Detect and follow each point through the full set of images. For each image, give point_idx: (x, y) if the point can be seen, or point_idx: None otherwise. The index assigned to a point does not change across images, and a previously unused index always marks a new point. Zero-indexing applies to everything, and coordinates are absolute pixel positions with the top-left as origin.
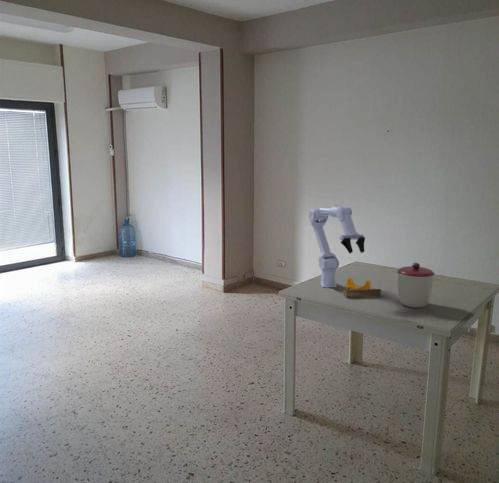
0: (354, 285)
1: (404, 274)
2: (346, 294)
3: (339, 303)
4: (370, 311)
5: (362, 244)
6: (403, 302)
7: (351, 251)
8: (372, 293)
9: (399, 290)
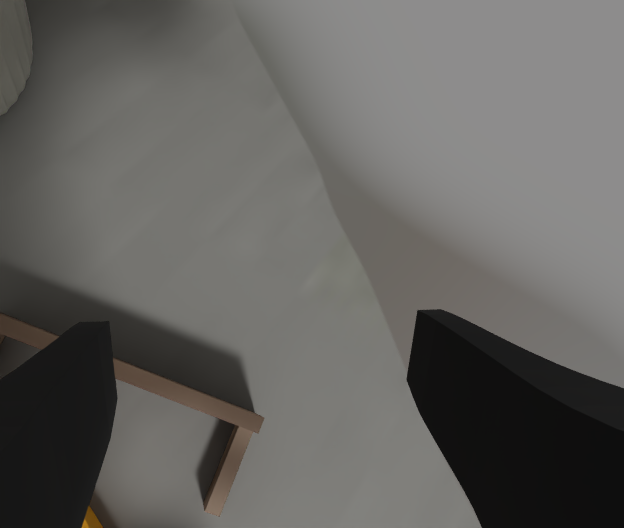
0: None
1: None
2: (257, 414)
3: (364, 331)
4: (289, 130)
5: (43, 399)
6: (32, 58)
7: (448, 314)
8: (57, 335)
9: (3, 49)
